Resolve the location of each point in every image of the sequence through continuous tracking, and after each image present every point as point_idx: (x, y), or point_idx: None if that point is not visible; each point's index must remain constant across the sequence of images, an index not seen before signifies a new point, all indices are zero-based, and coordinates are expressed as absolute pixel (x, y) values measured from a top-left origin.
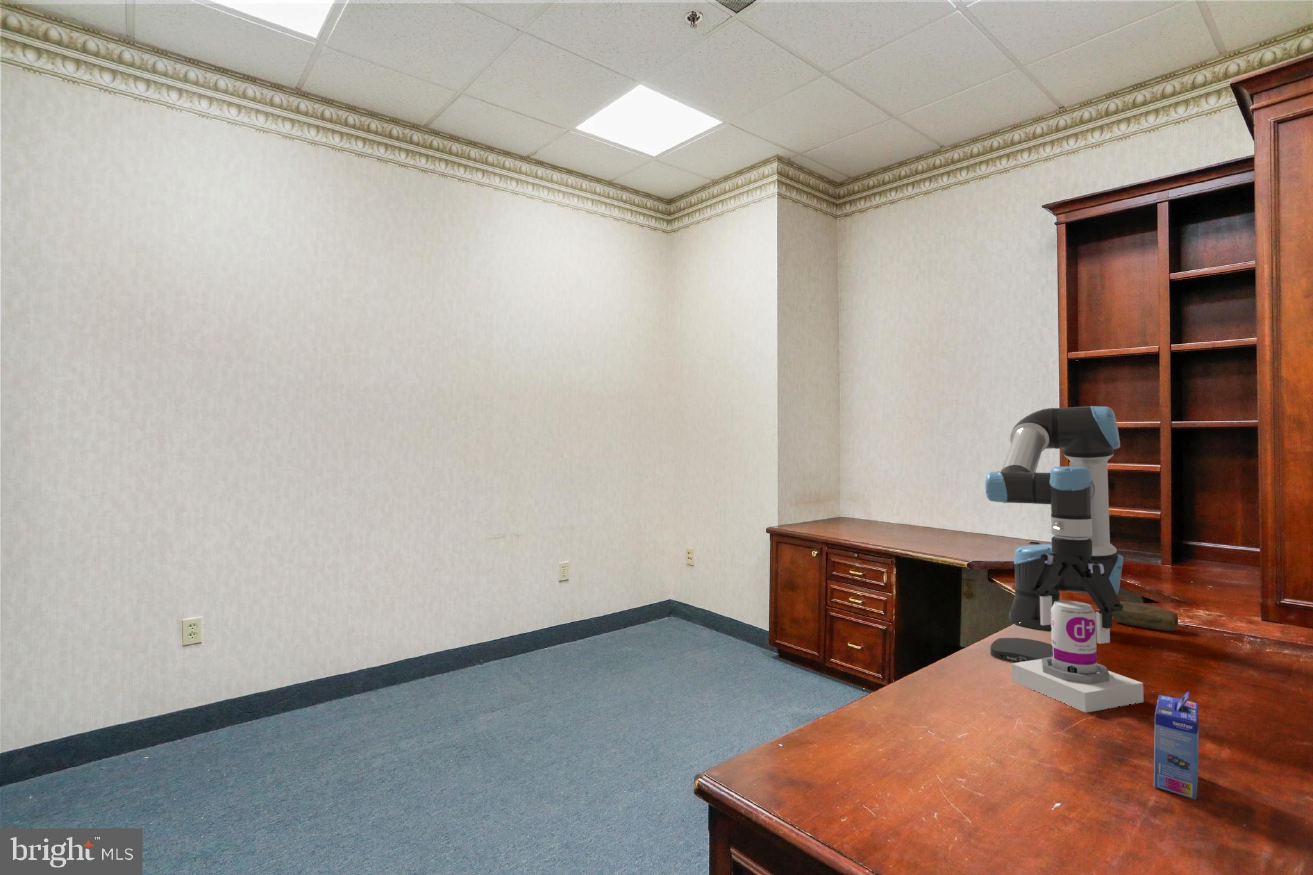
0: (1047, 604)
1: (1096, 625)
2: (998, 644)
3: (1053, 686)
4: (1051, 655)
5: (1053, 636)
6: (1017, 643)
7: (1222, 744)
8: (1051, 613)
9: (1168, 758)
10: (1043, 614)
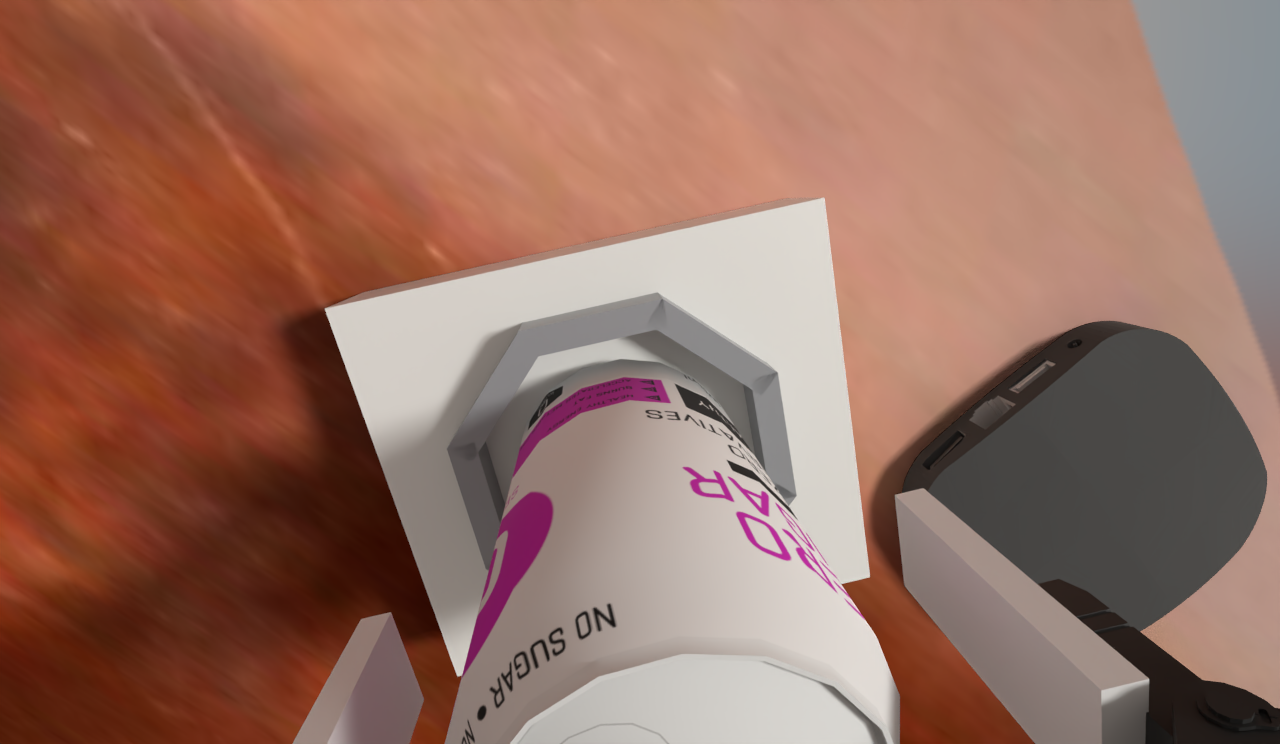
0: (1021, 674)
1: (330, 732)
2: (1183, 395)
3: (530, 260)
4: None
5: (683, 433)
6: (1151, 495)
7: (57, 610)
8: (776, 547)
9: None
10: (951, 553)
